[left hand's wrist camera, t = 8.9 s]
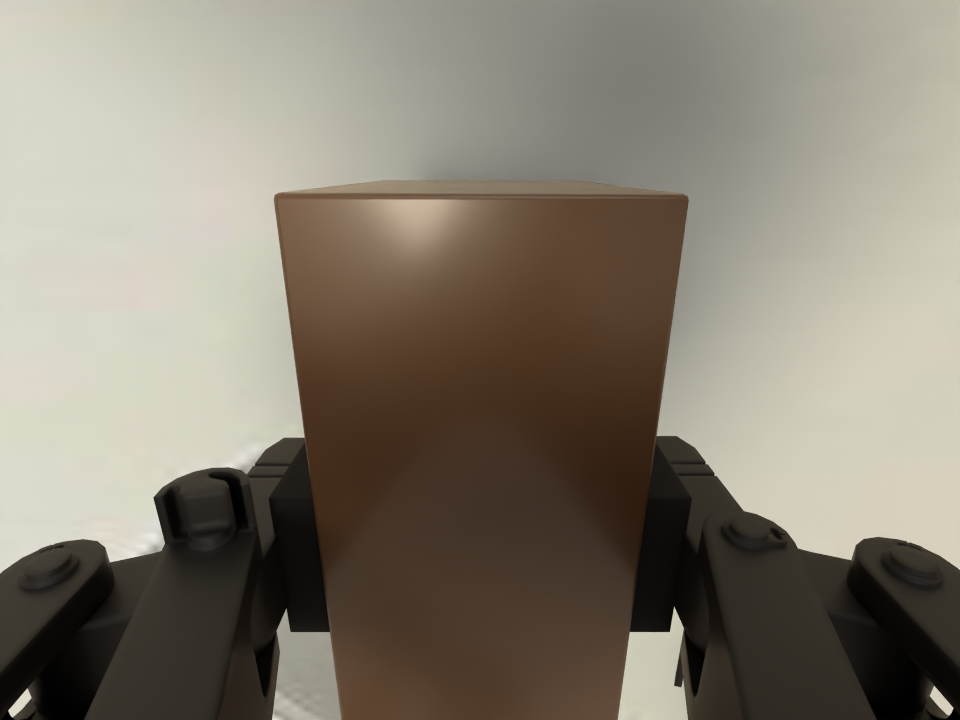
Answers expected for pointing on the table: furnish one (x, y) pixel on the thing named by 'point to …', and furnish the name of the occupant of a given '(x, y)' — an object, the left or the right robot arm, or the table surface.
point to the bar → (480, 433)
